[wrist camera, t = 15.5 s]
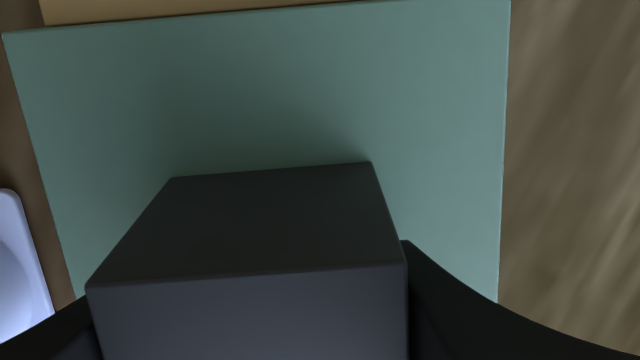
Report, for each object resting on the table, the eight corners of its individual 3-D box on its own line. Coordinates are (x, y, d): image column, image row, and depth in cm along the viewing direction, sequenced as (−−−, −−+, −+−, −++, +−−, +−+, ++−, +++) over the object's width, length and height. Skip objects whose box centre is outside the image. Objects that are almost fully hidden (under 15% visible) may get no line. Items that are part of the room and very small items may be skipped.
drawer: (81, -162, 15) (-23, -233, 10) (427, -194, 15) (479, -281, 10) (178, 309, 20) (139, 399, 16) (431, 290, 20) (465, 376, 16)
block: (201, 344, 14) (145, 518, 9) (169, 176, 12) (80, 285, 8) (380, 331, 14) (413, 500, 9) (372, 160, 12) (408, 260, 8)
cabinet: (110, 20, 17) (-2, 32, 11) (441, -9, 17) (512, -13, 11) (178, 341, 22) (125, 477, 16) (441, 322, 22) (491, 451, 16)
